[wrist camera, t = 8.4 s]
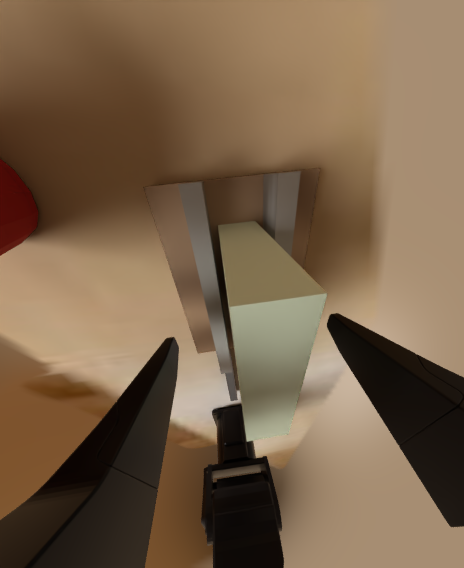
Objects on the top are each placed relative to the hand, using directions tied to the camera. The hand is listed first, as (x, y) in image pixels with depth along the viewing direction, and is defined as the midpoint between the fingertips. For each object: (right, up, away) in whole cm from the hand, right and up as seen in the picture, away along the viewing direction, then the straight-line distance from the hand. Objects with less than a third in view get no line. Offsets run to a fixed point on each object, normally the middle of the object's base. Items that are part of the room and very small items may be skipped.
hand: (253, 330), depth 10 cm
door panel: (0, +2, +4) cm, 5 cm away
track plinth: (-1, +3, +5) cm, 6 cm away
